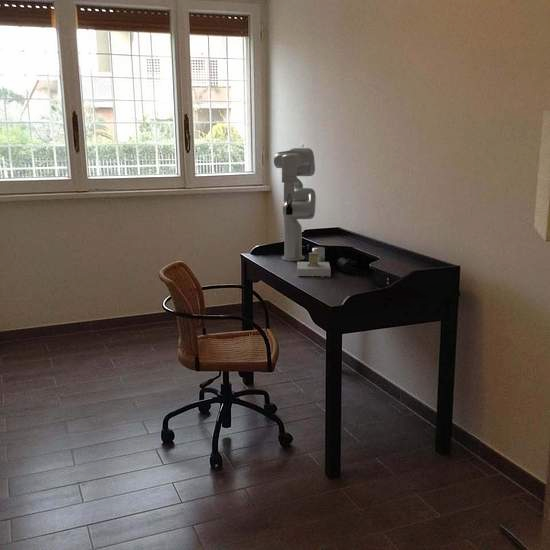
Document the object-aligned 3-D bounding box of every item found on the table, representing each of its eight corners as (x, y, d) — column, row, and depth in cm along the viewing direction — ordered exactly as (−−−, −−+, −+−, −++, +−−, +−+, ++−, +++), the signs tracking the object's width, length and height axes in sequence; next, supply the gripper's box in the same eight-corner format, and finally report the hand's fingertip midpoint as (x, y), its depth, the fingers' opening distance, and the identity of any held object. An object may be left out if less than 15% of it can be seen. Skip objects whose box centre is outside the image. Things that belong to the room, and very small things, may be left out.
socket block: (297, 269, 324) (297, 261, 323) (328, 269, 323) (328, 261, 322) (297, 276, 308) (297, 268, 307) (330, 276, 308) (330, 268, 307)
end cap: (336, 270, 322) (336, 257, 320) (349, 269, 323) (350, 256, 322) (343, 274, 312) (343, 261, 311) (356, 274, 314) (356, 260, 312)
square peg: (309, 272, 318) (309, 252, 315) (317, 272, 318) (317, 252, 316) (309, 274, 314) (309, 254, 312) (317, 273, 314) (317, 254, 312)
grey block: (311, 265, 333) (311, 246, 330) (324, 265, 332) (324, 246, 330) (312, 268, 326) (312, 249, 324) (324, 268, 326) (325, 249, 324)
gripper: (282, 178, 326) (282, 211, 330) (281, 181, 309) (281, 215, 313) (296, 177, 325) (296, 211, 329) (297, 180, 309) (296, 215, 313)
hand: (289, 213), depth 321 cm, fingers open, 9 cm apart
